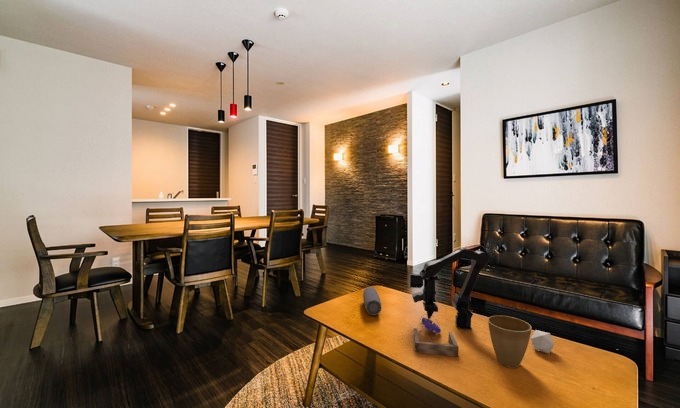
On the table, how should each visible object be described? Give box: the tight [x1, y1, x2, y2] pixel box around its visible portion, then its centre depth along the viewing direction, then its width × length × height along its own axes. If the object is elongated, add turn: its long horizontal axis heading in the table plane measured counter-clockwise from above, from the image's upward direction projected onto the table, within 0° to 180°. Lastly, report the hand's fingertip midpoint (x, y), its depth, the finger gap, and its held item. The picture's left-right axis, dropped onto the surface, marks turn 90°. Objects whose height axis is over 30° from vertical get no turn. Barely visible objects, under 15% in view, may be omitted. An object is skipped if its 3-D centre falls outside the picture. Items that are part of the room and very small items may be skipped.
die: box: [530, 329, 555, 354], centre depth 125 cm, size 8×9×10 cm
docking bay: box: [412, 328, 459, 358], centre depth 127 cm, size 17×14×4 cm
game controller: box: [417, 313, 442, 341], centre depth 140 cm, size 11×9×11 cm
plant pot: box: [487, 315, 533, 369], centre depth 116 cm, size 15×15×16 cm
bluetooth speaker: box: [362, 286, 382, 316], centre depth 168 cm, size 23×9×10 cm, turn 179°
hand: (428, 318), depth 149 cm, fingers closed
